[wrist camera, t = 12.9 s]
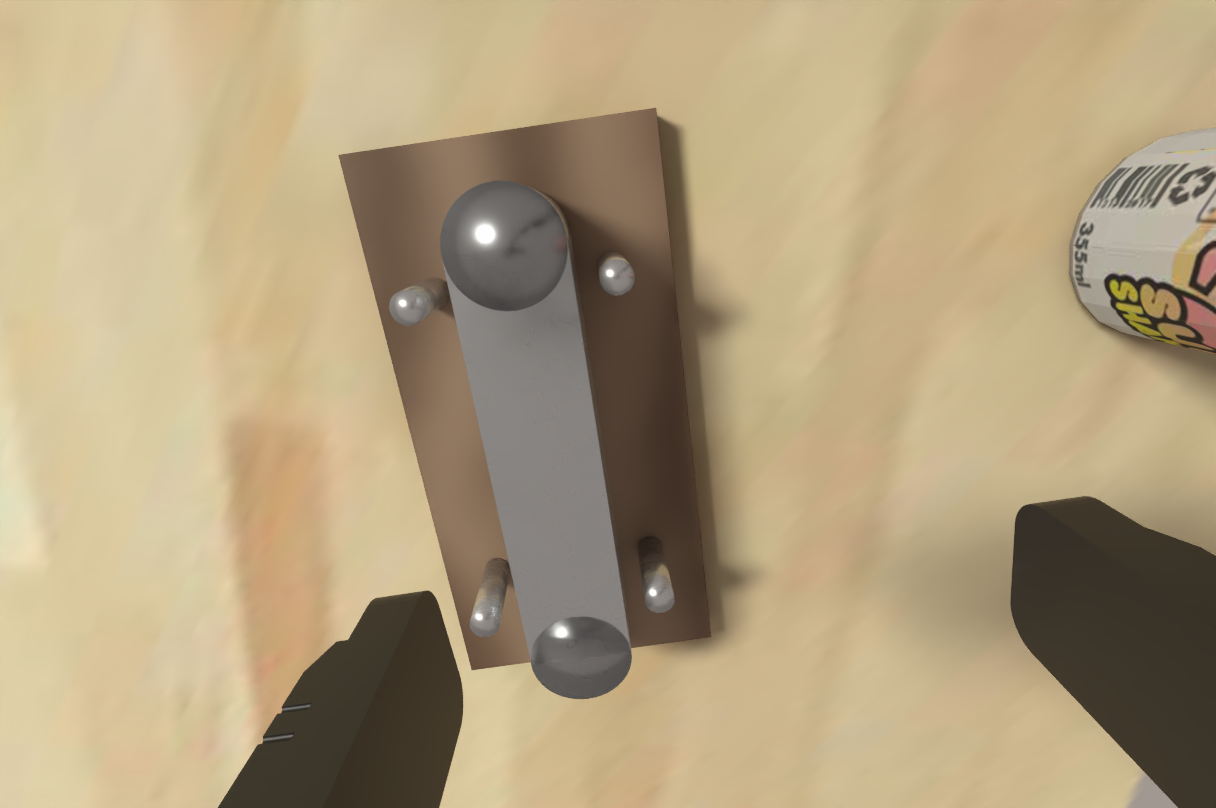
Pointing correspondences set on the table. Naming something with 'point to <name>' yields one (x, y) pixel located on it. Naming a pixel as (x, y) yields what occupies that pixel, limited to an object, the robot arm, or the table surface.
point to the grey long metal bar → (540, 429)
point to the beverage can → (1153, 243)
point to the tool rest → (618, 346)
